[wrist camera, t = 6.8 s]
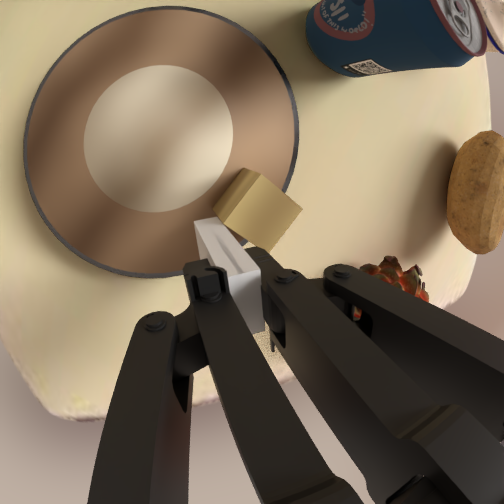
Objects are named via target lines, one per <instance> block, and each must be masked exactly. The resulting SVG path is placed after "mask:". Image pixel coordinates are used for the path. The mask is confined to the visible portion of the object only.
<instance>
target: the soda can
mask: <svg viewBox="0 0 504 504" xmlns="http://www.w3.org/2000/svg"><path fill="white" fill-rule="evenodd" d="M306 37H307V41H308V44H309V46H310V48H311V50H312V52H313V53H314V55H315V56H316V57H317V58H318V59H319V60H320V61H321V62H322V63H323V64H325V65H326V66H328V67H329V68H330V69H332V70H334V71H336V72H337V73H340V74H342V75H345V76H349V77H364V76H370V75H376V74H382V73H389V72H397V71H405V70H415V69H427V68H442V67H460V66H462V65H464V64H465V63H466V62H468V61H469V60H470V59H472V58H473V57H474V56H477V57H478V56H482V55H484V53H485V52H486V49H487V31H486V27H485V23H484V20H483V17H482V14H481V12H480V9H479V7H478V5H477V3H476V1H475V0H322V1H320V2H319V3H317V4H316V5H314V6H313V7H312V8H311V10H310V11H309V13H308V15H307V19H306Z"/></svg>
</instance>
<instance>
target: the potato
mask: <svg viewBox="0 0 504 504" xmlns="http://www.w3.org/2000/svg"><path fill="white" fill-rule="evenodd" d="M447 219H448V223H449V226H450V228H451V231H452V233H453V235H454V236H455V237H456V238H457V239H458V240H459V241H460V242H461V243H462V244H463V245H464V246H465V247H466V248H467V249H468V250H470V251H472V252H473V253H475V254H486V253H488V252H490V251H493V250H494V249H495V248H496V247H497V245H498V243H499V242H500V239H501V236H502V233H503V230H504V138H503V137H502V136H501V135H499V134H498V133H496V132H494V131H492V130H491V131H484V132H480V133H478V134H477V135H475V136H474V137H472V138H471V139H469V140H468V141H466V142H465V143H464V144H463V146H462V147H461V148H460V150H459V151H458V154H457V156H456V159H455V161H454V165H453V168H452V171H451V175H450V180H449V185H448V195H447Z"/></svg>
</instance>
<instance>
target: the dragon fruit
mask: <svg viewBox="0 0 504 504" xmlns="http://www.w3.org/2000/svg"><path fill="white" fill-rule="evenodd" d="M359 270H361V271H363V272H365V273H367V274H370V275H372V276H374V277H376V278H378V279H380V280H382V281H384V282H387V283H389V284H391V285H393V286H395V287H397V288H399V289H401V290H403V291H406V292H408V293H410V294H412V295H414V296H416V297H418V298H420V299H422V300H424V301H426V302H428V303H429V295H428V293H427V292H426V291H425V282H423V283H422V289H421V279H420V278H419V275H420V276H422V271H421V269H420V268H419V267H418V266H417V264H416V265H415V266H413V267H411V268H410V269H409V270H407V271H405V272H403V271H402V268H401V266H400V264H399V263H398V260H397V258H396V257H395V256H385V257H384V260H383V261H382V262H381V263H380V265H379V266H376V265H372V264H365V265H363V266H361V267H360V269H359ZM361 312H362V310H361V309H359V308H357V307H356V306H355V313H354V316H355V317H357V318H360V317H361Z"/></svg>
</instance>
